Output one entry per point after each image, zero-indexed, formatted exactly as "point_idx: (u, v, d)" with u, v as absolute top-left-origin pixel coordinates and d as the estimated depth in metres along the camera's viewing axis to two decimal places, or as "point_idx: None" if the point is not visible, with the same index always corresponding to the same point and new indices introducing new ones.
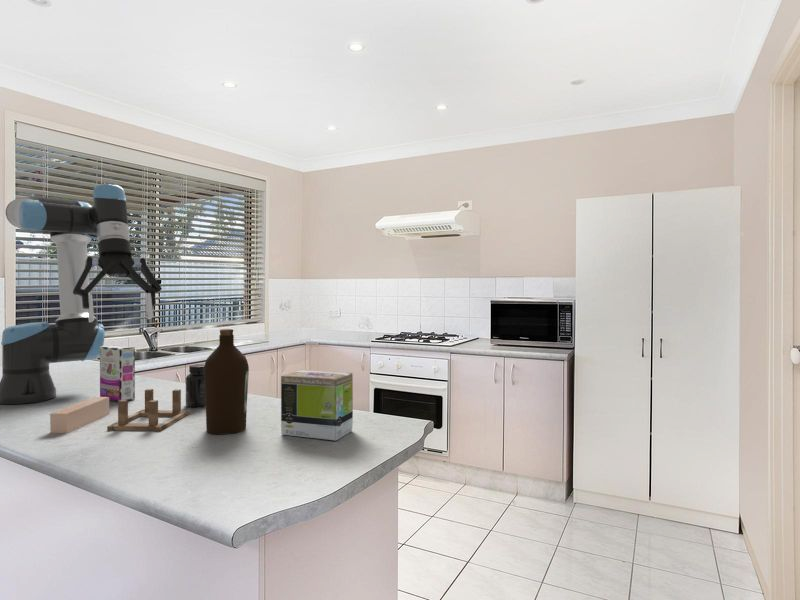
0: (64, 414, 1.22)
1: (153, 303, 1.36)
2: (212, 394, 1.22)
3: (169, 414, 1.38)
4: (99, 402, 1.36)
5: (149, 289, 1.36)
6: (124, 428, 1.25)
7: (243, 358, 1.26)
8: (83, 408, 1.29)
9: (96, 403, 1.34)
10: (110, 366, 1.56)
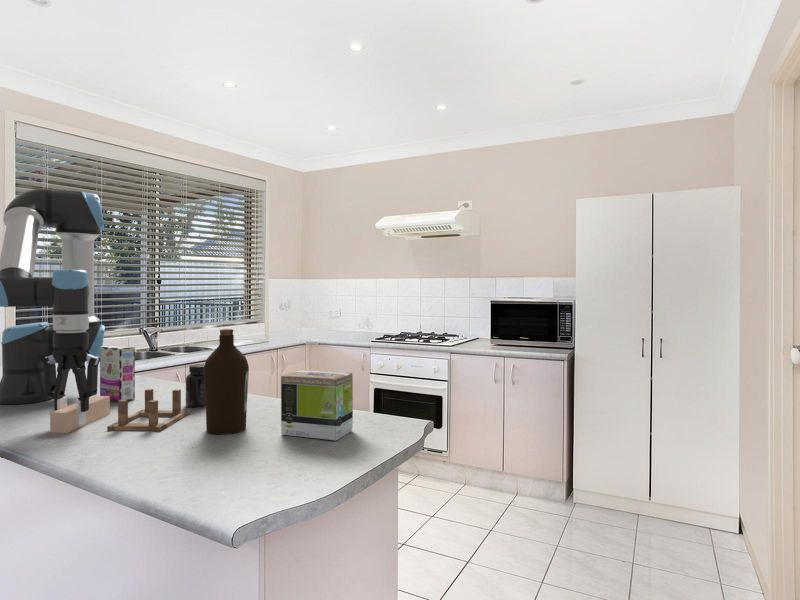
0: (64, 413, 1.22)
1: (83, 410, 1.27)
2: (212, 394, 1.22)
3: (169, 414, 1.38)
4: (99, 401, 1.36)
5: (79, 394, 1.26)
6: (124, 428, 1.25)
7: (243, 358, 1.26)
8: None
9: (96, 402, 1.34)
10: (110, 366, 1.56)
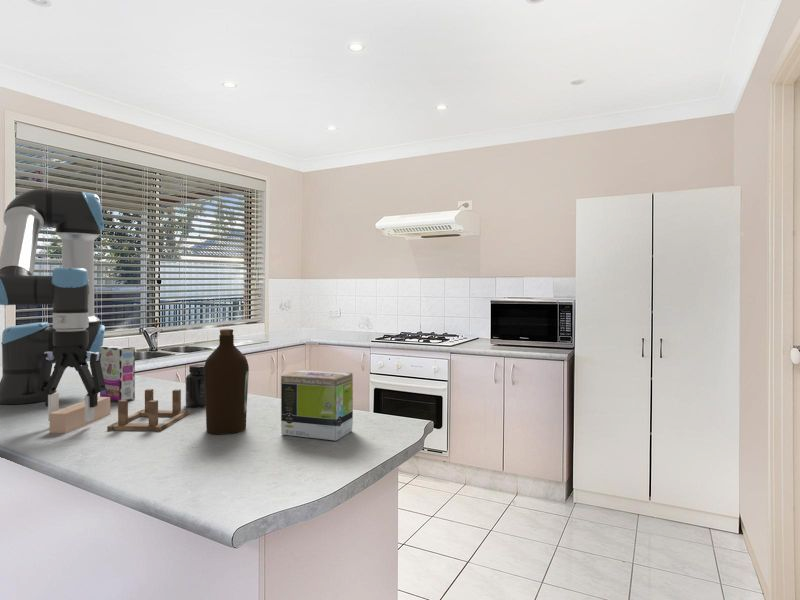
0: (63, 414, 1.22)
1: (91, 405, 1.27)
2: (212, 394, 1.22)
3: (169, 414, 1.38)
4: (100, 402, 1.36)
5: (88, 390, 1.26)
6: (124, 428, 1.25)
7: (243, 358, 1.26)
8: (83, 408, 1.29)
9: None
10: (110, 366, 1.56)
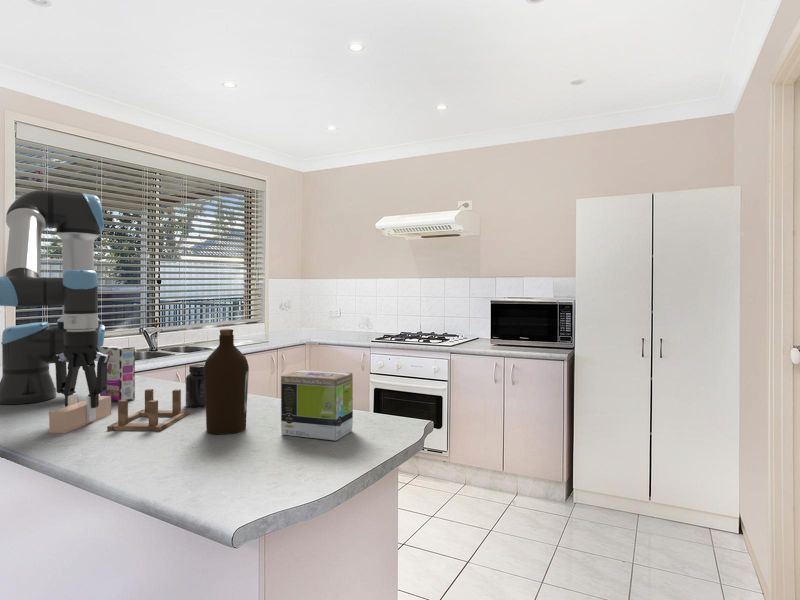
0: (62, 413, 1.22)
1: (93, 406, 1.31)
2: (212, 394, 1.22)
3: (169, 414, 1.38)
4: (100, 401, 1.36)
5: (90, 391, 1.30)
6: (124, 428, 1.25)
7: (243, 358, 1.26)
8: (83, 407, 1.29)
9: None
10: (110, 366, 1.56)
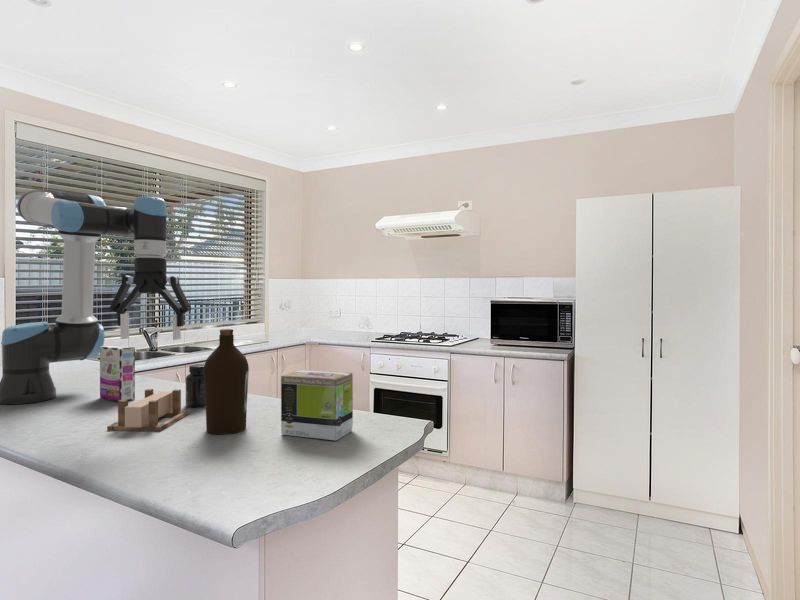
0: (138, 408, 1.24)
1: (179, 325, 1.32)
2: (212, 394, 1.22)
3: (169, 414, 1.38)
4: (166, 396, 1.38)
5: (175, 310, 1.31)
6: (124, 428, 1.25)
7: (243, 358, 1.26)
8: None
9: (163, 397, 1.36)
10: (110, 366, 1.56)
